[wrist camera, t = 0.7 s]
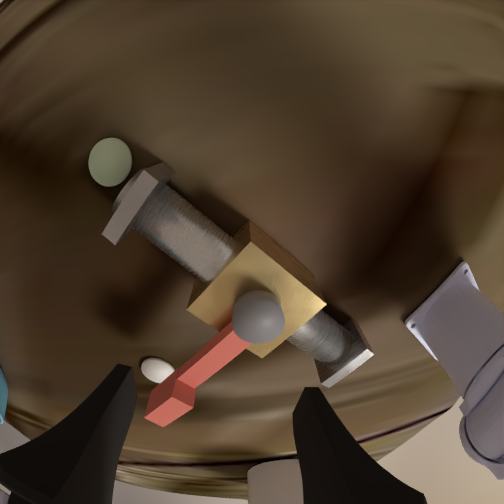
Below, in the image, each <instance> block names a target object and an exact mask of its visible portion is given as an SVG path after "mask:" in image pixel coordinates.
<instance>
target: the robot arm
mask: <svg viewBox="0 0 504 504" xmlns="http://www.w3.org/2000/svg"><path fill="white" fill-rule="evenodd" d="M412 324H413V325H412ZM405 325H406V327H407V328H408V329H409V330H410V331H411V332H412V333H413V335H414V336H415V337H416V338H417V339H418V340H419V341H420V342H421V343H422V345H423V346H424V347H425V348H426V349H427V350H428V351H429V353H430V354H431V355H432V356H433V357H434V358H435V359H436V360H437V361H439V362H440V364H441V365H442V367H443V368H444V370H445V371H446V373H447V374H448V376H449V377H450V379H451V380H452V382H453V383H454V385H455V387H456V388H457V390H458V391H459V393H460V394H461V396H462V398H463V399H464V401H463V403H462V404H461V405H460V407H459V408H460V410H461V411H462V413H463V415H464V416H463V417H462V419H461V422H460V426H459V433H460V439H461V442H462V445H463V447H464V450H465V451H466V453H467V454H468V455H469V456H470V457H471V458H472V459H473V460H474V461H476V462H478V463H480V464H482V465H484V466H486V467H487V468H488V469H490V470H491V471H492V473H493V474H494V475H495V476H496V478H497V479H501V480H502V479H504V313H503V312H502V311H501V310H500V309H499V308H498V307H497V306H496V305H495V304H494V303H492V302H491V301H490V300H489V299H488V298H487V297H486V296H485V295H484V294H483V293H481V292H480V291H479V288H478V286H477V284H476V281H475V279H474V277H473V275H472V272H471V270H470V268H469V266H468V264H467V263H466V262H464V261H463V262H461V263H460V265H459V266H458V267H457V268H456V269H455V270H454V271H453V272H452V274H451V275H450V276H449V277H448V278H447V279H446V280H445V281H444V282H443V283H442V284H441V285H440V287H439V288H438V289H437V290H436V291H435V292H434V293H433V294H432V295H431V296H430V297H429V298H428V299H427V300H426V301H425V302H424V303H423V304H422V305H421V306H420V307H419V308H418V309H417V310H416V311H415V312H414V313H413V314H411V315H410V316H409V317H408V318H407V319H406V321H405ZM136 400H137V391H136V386H135V381H134V376H133V370H132V367H130V366H126V365H122V364H117V365H116V366H115V367H114V369H113V370H112V371H111V372H110V373H109V375H108V376H107V377H106V378H105V379H104V380H103V381H102V383H101V384H100V385H99V386H98V387H97V388H96V389H95V390H94V391H93V392H92V393H91V394H90V395H89V396H88V397H87V398H86V399H85V400H84V401H83V402H82V403H81V404H80V405H79V406H78V407H77V408H76V409H75V410H74V411H73V412H72V413H70V414H69V415H68V416H67V417H66V418H64V419H63V420H62V421H61V422H59V423H58V424H57V425H55V426H54V427H52V428H51V429H49V430H48V431H46V432H45V433H43V434H42V435H40V436H38V437H37V438H35V439H33V440H31V441H29V442H27V443H25V444H23V445H21V446H19V447H16V448H14V449H11V450H9V451H6V452H4V453H1V454H0V484H2V485H3V486H5V487H6V488H7V489H9V490H10V491H11V494H10V495H8V494H7V493H5V492H4V491H3V490H1V489H0V504H112V495H113V488H114V481H115V475H116V469H117V464H118V460H119V456H120V453H121V450H122V447H123V444H124V441H125V438H126V435H127V432H128V429H129V426H130V423H131V420H132V417H133V414H134V409H135V405H136ZM293 432H294V439H295V444H296V449H297V455H298V460H299V465H300V470H301V476H302V484H303V504H427V501H426V498H425V496H424V494H423V493H420V492H419V491H417V490H415V489H413V488H411V487H410V486H408V485H406V484H405V483H403V482H401V481H400V480H398V479H397V478H395V477H394V476H393V475H392V474H390V473H389V472H388V471H386V470H385V469H383V467H381V466H380V465H379V464H378V463H377V462H376V461H375V460H374V459H373V458H372V457H371V456H370V455H369V454H368V453H367V452H366V451H365V450H364V449H363V448H362V447H361V446H360V445H359V444H358V443H357V441H356V440H355V439H354V438H353V436H352V435H351V434H350V433H349V431H348V430H347V429H346V427H345V426H344V425H343V423H342V422H341V420H340V419H339V418H338V416H337V415H336V413H335V412H334V410H333V409H332V407H331V406H330V404H329V403H328V401H327V399H326V398H325V396H324V395H323V393H322V391H321V390H320V388H319V387H305V388H304V390H303V393H302V395H301V397H300V399H299V401H298V403H297V405H296V407H295V409H294V411H293Z"/></svg>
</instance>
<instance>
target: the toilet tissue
mask: <svg viewBox="0 0 504 504" xmlns="http://www.w3.org/2000/svg"><path fill="white" fill-rule="evenodd" d="M247 480H248V485H247V487H248V504H303V484H302V476H301V470H300V465H299V460H298V459H285V460H276V461H270V462H264V463H262V464H258V465H256V466H253V467H252V468H251V469H249V470H248V472H247Z"/></svg>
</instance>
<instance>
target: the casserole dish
mask: <svg viewBox="0 0 504 504" xmlns="http://www.w3.org/2000/svg"><path fill="white" fill-rule="evenodd" d="M7 398H8V388H7V383H6V380H5V377H4V374H3V371H2V369H1V367H0V424H2V423H3V422H4V416H5V410H6V405H7Z"/></svg>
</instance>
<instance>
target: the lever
mask: <svg viewBox="0 0 504 504" xmlns="http://www.w3.org/2000/svg"><path fill="white" fill-rule="evenodd" d="M284 326H285V318H284V313H283V309H282V304H281V302H280V300H279V299H278V298H277V297H276V296H275V295H274V294H272V293H270V292H267V291H263V290H254V291H249V292H247V293H245V294H243V295H241V296H240V297H239V298H238V299H237V300H236V302H235V304H234V306H233V317H232V321H231V322H230V323H229V324H228V325H227V326H226V327H225V328H224V329H223V330H222V331H220V332H219V333H218V334H217V335H216V336H215V337H214V338H213V339H212V340H211V341H209V342H208V343H207V344H206V345H205V346H204V347H203V348H202V349H201V350H199V351H198V352H197V353H196V354H195V355H194V356H193V357H192V358H191V359H189V360H188V361H187V362H186V363H185V364H184V365H183V366H181V367H180V368H177V369H176V370H175V371H174V372H173V373H172V374H170V375H169V376H168V377H167V378H166V379H165V380H164V381H162V382H161V383H160V384H159V385H158V386H157V387H155V388H154V389H153V390H152V391H151V394H150V397H149V401H148V405H147V408H146V412H145V416H144V418H146V419H148V420H150V421H152V422H154V423H156V424H158V425H160V426H162V427H164V426H166V425H168V424H169V423H171V422H172V421H174V420H175V419H177V418H179V417H180V416H182V415H183V414H185V413H186V412H188V411H189V410H191V409H192V408H193V407H194V400H195V392H196V387H197V386H199V385H200V384H201V383H203V382H204V381H205V380H207V379H208V378H209V377H211V376H212V375H213V374H214V373H216V372H217V371H218V370H219V369H221V368H222V367H223V366H225V365H226V364H227V363H228V362H230V361H231V360H232V359H233V358H234V357H236V356H237V355H238V354H239V353H241V352H242V351H243V350H244V349H245V348H247V347H248V346H249V345H250V344H252V343H256V344H258V343H266V342H269V341H271V340H273V339H275V338H276V337H278V336H279V335H280V334H281V332H282V331H283V329H284Z"/></svg>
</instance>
